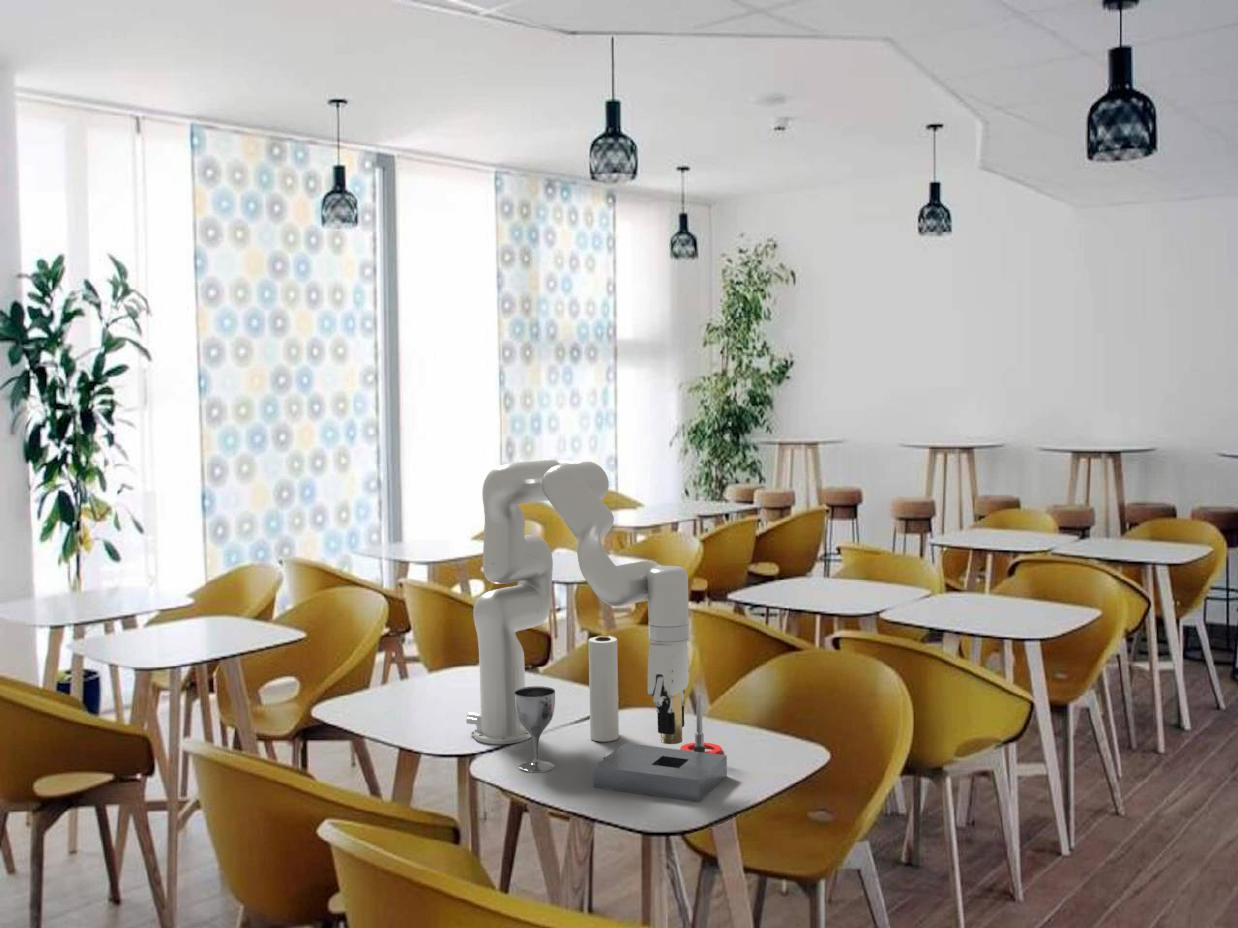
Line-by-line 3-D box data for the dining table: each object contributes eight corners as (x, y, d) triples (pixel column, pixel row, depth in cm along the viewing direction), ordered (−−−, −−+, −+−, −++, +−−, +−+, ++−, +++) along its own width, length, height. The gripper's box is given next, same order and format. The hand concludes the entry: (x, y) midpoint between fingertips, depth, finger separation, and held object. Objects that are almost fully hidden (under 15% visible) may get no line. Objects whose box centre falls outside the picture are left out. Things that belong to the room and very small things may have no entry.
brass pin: (657, 742, 219) (656, 684, 219) (665, 736, 223) (664, 679, 222) (677, 744, 218) (676, 686, 217) (685, 738, 221) (684, 681, 221)
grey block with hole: (593, 787, 219) (592, 766, 219) (626, 762, 233) (625, 742, 233) (699, 802, 211) (699, 780, 211) (726, 775, 224) (726, 755, 224)
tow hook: (682, 747, 244) (677, 759, 235) (682, 685, 244) (678, 694, 235) (723, 748, 243) (720, 761, 234) (723, 686, 242) (720, 696, 233)
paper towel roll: (602, 744, 245) (600, 642, 244) (584, 737, 250) (582, 638, 248) (628, 737, 250) (627, 637, 248) (611, 731, 254) (609, 633, 253)
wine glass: (562, 761, 234) (561, 687, 233) (547, 774, 227) (545, 698, 226) (525, 758, 237) (524, 684, 236) (509, 771, 229) (507, 695, 228)
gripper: (667, 623, 228) (669, 716, 229) (632, 640, 213) (634, 740, 214) (703, 625, 225) (705, 720, 226) (670, 643, 210) (673, 744, 211)
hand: (671, 728), depth 220 cm, fingers closed on brass pin, 3 cm apart
